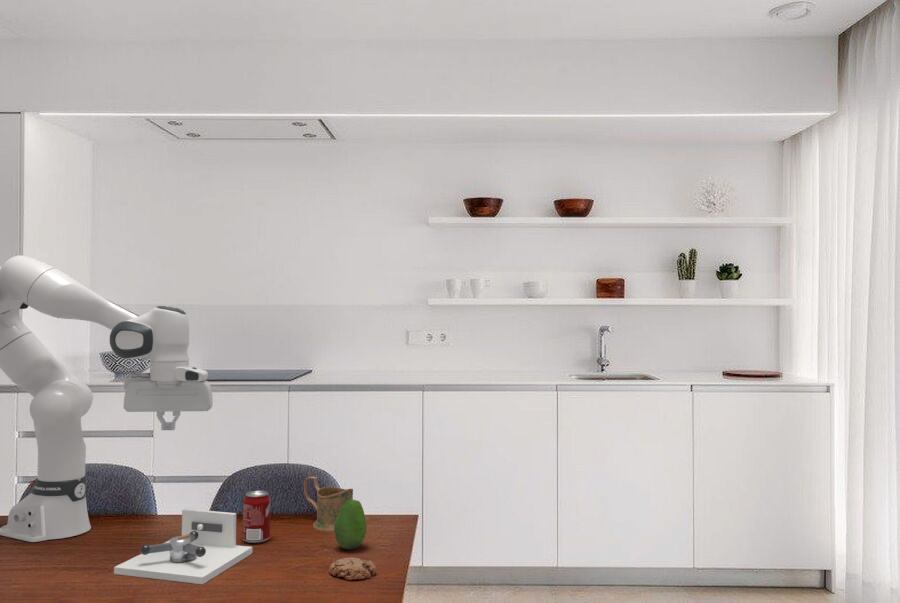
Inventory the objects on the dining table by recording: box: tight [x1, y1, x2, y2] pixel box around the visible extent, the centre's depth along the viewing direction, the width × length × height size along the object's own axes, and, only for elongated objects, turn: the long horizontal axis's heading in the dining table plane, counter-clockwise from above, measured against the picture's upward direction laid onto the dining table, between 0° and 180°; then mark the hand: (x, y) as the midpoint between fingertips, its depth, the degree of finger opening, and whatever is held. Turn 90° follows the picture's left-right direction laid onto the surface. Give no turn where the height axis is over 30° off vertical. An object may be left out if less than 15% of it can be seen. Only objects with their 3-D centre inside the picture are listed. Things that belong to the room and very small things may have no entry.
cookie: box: [328, 557, 377, 581], centre depth 163 cm, size 10×11×3 cm
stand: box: [113, 508, 254, 585], centre depth 168 cm, size 22×21×10 cm
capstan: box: [139, 531, 206, 562], centre depth 165 cm, size 15×13×5 cm
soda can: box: [241, 490, 271, 545], centre depth 186 cm, size 7×7×12 cm
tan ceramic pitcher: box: [303, 476, 354, 533], centre depth 201 cm, size 12×18×12 cm, turn 54°
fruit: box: [333, 499, 367, 551], centre depth 180 cm, size 8×8×12 cm
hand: (168, 429), depth 177 cm, fingers closed
